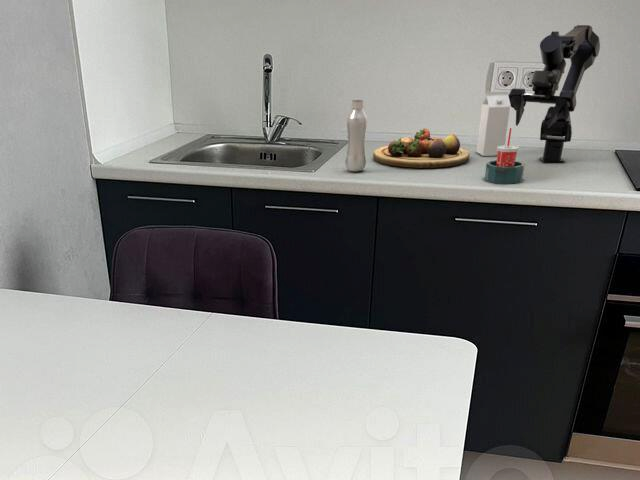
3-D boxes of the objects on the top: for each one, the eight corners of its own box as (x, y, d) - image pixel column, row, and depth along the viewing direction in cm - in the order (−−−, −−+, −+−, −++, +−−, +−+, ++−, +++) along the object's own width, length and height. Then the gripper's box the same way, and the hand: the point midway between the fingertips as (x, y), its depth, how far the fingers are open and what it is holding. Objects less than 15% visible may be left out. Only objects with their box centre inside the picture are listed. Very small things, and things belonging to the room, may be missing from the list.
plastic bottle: (367, 169, 233) (370, 99, 222) (362, 173, 228) (365, 102, 217) (348, 168, 235) (350, 99, 224) (342, 172, 230) (344, 102, 219)
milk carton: (476, 152, 252) (483, 90, 241) (496, 151, 253) (504, 90, 242) (482, 156, 246) (490, 93, 236) (503, 155, 247) (512, 92, 236)
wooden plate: (390, 147, 262) (392, 122, 258) (479, 153, 251) (482, 127, 246) (359, 165, 239) (360, 137, 234) (455, 172, 227) (458, 143, 222)
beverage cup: (518, 179, 217) (526, 128, 209) (504, 183, 214) (511, 130, 206) (502, 176, 221) (509, 125, 213) (488, 179, 218) (495, 128, 210)
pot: (525, 176, 221) (528, 160, 218) (516, 186, 210) (519, 169, 208) (490, 173, 225) (492, 157, 222) (480, 183, 214) (482, 167, 212)
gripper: (515, 56, 210) (496, 106, 210) (581, 58, 201) (561, 110, 201) (520, 83, 220) (502, 130, 220) (584, 85, 211) (565, 135, 211)
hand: (531, 126), depth 212 cm, fingers open, 9 cm apart
